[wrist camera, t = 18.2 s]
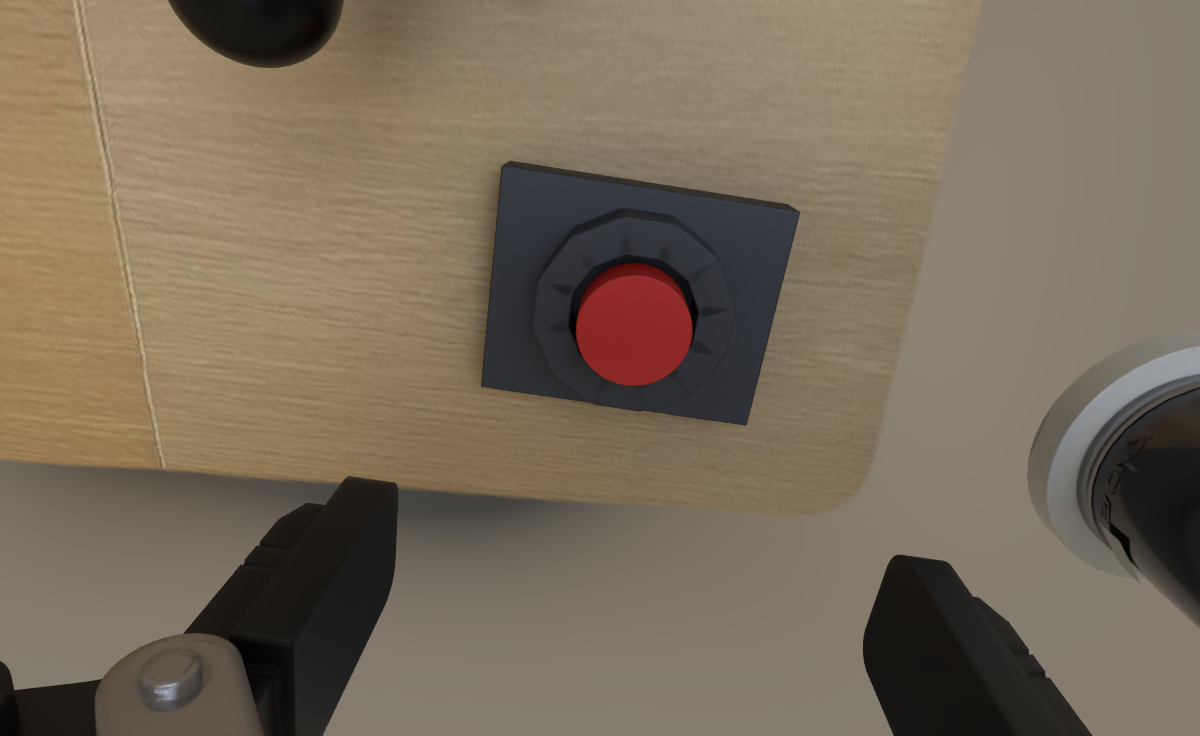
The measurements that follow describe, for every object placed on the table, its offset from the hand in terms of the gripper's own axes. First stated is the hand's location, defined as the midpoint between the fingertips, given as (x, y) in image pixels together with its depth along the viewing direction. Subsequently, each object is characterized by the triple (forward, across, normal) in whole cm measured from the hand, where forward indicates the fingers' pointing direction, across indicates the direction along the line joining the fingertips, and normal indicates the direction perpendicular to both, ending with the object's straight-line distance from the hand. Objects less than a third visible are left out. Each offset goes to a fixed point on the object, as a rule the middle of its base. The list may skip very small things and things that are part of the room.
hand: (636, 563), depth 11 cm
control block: (+16, 0, 0) cm, 16 cm away
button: (+13, 0, 0) cm, 13 cm away
